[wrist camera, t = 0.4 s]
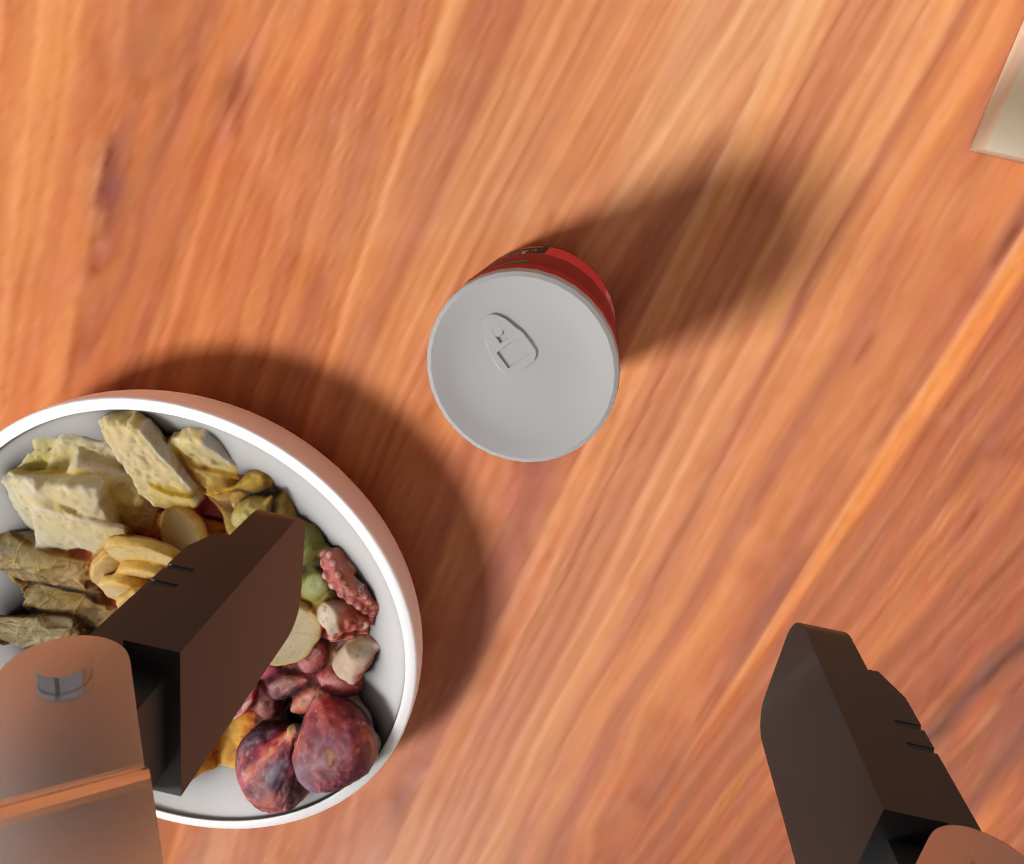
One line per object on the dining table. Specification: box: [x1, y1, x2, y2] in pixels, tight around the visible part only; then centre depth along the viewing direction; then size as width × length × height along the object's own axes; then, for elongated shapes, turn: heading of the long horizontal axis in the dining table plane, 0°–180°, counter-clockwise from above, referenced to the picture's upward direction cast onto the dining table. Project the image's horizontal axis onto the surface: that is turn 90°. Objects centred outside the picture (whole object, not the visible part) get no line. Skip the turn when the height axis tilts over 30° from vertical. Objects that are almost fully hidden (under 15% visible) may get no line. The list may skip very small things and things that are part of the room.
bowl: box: [0, 389, 423, 829], centre depth 44 cm, size 30×30×8 cm
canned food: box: [427, 246, 620, 462], centre depth 33 cm, size 8×8×11 cm
